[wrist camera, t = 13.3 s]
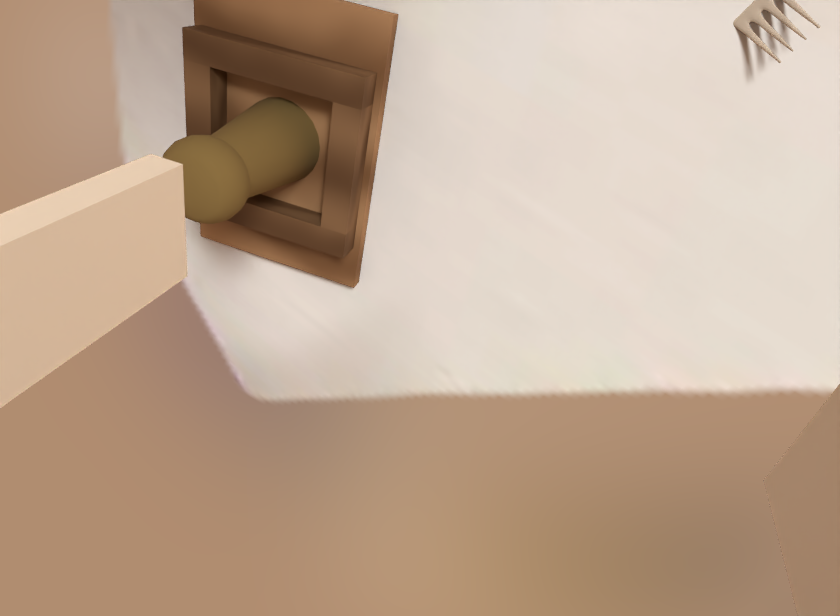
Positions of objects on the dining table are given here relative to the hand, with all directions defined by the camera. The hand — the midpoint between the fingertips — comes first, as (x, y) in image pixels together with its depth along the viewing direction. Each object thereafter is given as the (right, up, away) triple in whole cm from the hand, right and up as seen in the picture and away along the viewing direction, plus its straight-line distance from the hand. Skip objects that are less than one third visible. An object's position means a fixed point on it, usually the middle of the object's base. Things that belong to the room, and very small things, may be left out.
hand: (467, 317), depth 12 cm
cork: (-11, +12, +31) cm, 35 cm away
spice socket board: (-11, +13, +31) cm, 35 cm away
